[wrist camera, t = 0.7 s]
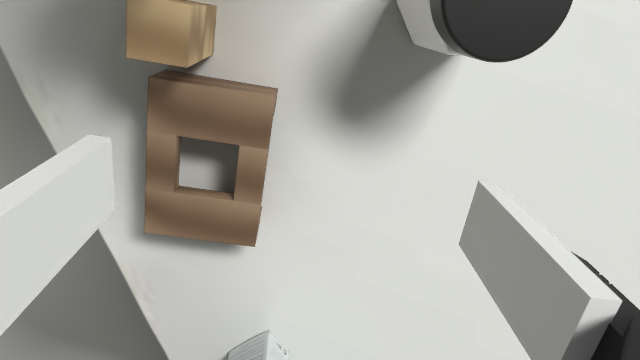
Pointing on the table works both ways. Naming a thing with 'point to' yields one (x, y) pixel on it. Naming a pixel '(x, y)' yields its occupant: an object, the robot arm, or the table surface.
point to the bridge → (213, 125)
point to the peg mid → (170, 31)
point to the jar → (483, 26)
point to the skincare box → (260, 349)
